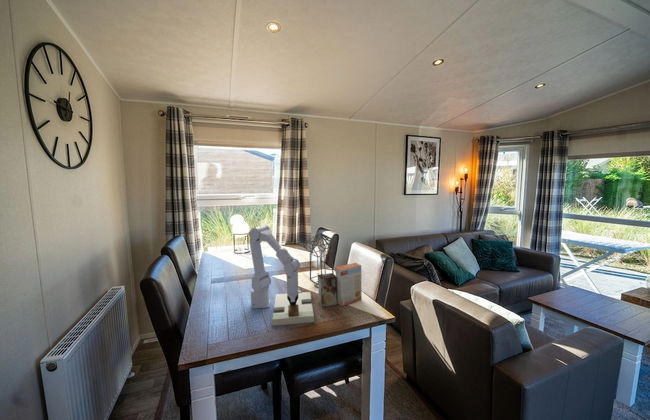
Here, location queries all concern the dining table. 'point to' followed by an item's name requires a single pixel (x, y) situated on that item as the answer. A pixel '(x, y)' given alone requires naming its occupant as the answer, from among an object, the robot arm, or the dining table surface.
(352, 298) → the cracker box
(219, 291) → the dining table surface
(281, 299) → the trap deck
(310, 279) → the geometric lantern
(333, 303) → the coffee box
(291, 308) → the walnut block
